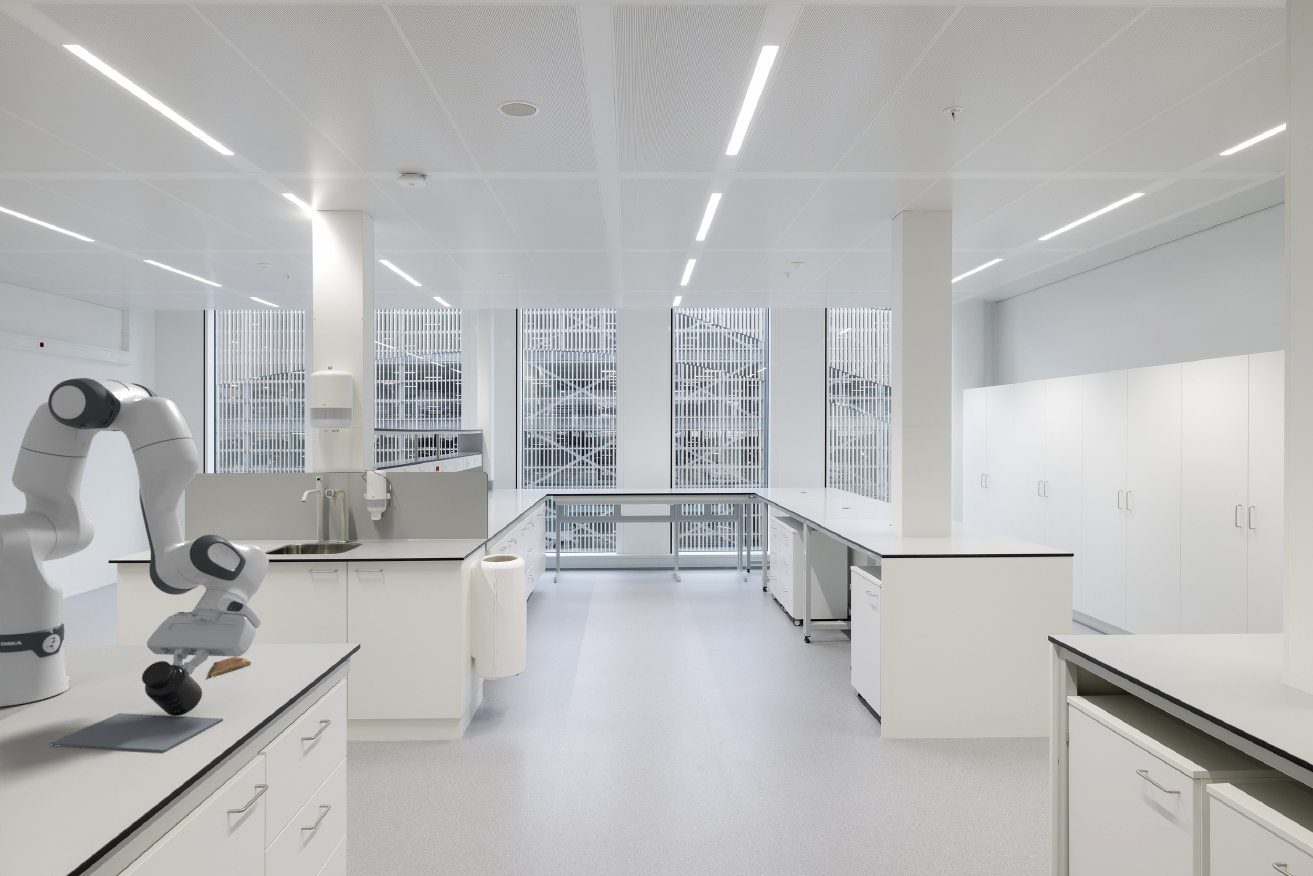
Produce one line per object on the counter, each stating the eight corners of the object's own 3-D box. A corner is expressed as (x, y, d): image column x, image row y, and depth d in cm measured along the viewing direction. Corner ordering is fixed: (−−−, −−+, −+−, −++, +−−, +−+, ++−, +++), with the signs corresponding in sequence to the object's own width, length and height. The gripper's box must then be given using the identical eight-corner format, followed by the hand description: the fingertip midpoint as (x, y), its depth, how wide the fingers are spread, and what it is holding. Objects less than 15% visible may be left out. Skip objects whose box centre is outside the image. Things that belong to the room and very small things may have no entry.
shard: (209, 680, 155) (209, 672, 155) (186, 676, 158) (187, 668, 158) (252, 666, 165) (252, 659, 166) (230, 663, 168) (230, 655, 168)
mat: (49, 745, 119) (49, 743, 119) (119, 715, 133) (119, 713, 133) (164, 752, 117) (164, 750, 117) (222, 720, 131) (223, 718, 131)
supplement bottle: (169, 689, 137) (140, 659, 129) (206, 681, 138) (180, 651, 130) (160, 721, 132) (130, 693, 124) (199, 712, 134) (172, 684, 125)
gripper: (164, 603, 143) (122, 663, 132) (255, 605, 141) (219, 666, 131) (180, 620, 147) (140, 679, 136) (268, 622, 145) (234, 682, 135)
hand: (179, 672), depth 133 cm, fingers closed
